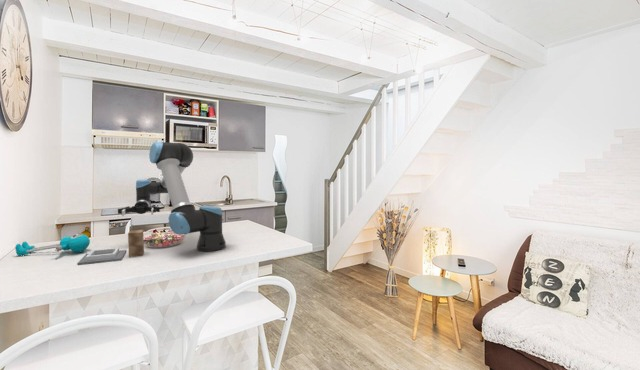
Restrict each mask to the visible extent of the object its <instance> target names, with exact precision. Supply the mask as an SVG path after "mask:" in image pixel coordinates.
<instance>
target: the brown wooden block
mask: <svg viewBox="0 0 640 370" xmlns="http://www.w3.org/2000/svg"><path fill="white" fill-rule="evenodd" d="M127 237H128V238H127V241H128V258H132V257H143V256H144V253H145V246H144V245H145V243H144V240H145V239H144V229H136V230H135V229H134V230H129V231H128V233H127Z"/></svg>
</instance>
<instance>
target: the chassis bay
mask: <svg viewBox="0 0 640 370" xmlns="http://www.w3.org/2000/svg"><path fill="white" fill-rule="evenodd" d="M126 253H127V250H126V249H123V250H120V247H111V248H102V249H101V248H100V249H91V251H89V252H88V253H86V254H84V255H83V257H81V259H80V260H78V261H77V266H82V265H91V264H100V263H110V262H111V263H112V262H118V261H120V262H121V261H122V260H123V258H124V257H125V255H126Z"/></svg>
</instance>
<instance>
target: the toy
mask: <svg viewBox="0 0 640 370" xmlns="http://www.w3.org/2000/svg"><path fill="white" fill-rule="evenodd" d="M90 242H91V241H90V238H89V236H88V235H86V234H83V233H81V232H80V233H76V234H74V235H72V236H65V237H63V238H61V239H60V241H59V243H55V244H50V245H49V244H48V245H42V246H37V247H36V246H35V245H29V243H28V242H27V241H23V242H22V243H17V244H15V253H16V255H17V256H18V257H22V256H21V255H24V256H26V255H29V254H30V253H34V252H39V251H44V250H52V249H55V250H54V251H56V252H57V253H58V252H59V251H64V252H67V251H71V252H73V253H75V254H76V253H78V254H79V253H83V252H85V251H86V249H87V248H88V247H90V244H91V243H90Z"/></svg>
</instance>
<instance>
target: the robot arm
mask: <svg viewBox="0 0 640 370" xmlns="http://www.w3.org/2000/svg"><path fill="white" fill-rule="evenodd" d="M149 148H150V149H149V153H148V155H149V156H148V157H149V158H148V159H149V162H151V164H153V165H155V166H156V168H157V169H158V170H161V171H160V172H161V174H162V178H161V180H160V181H153V182H152V181H150V179H137V180H136V182H135V193H136V200H135V201H136V203H135V204H134V206H128V205H127V206H125V207H121V208H117V215H118V214H121V216H122V217H124V216H125V215H126V214H128V213H136V214H139V215H143V214H145V213H148V212H150V214H151V215H154V214H155V213H156V212H157V213H160V212H161V210H160V207H158V206H155V205H152V203H151V202H152V201H151V195H157V194H158V195H159V194H168V196H169V197H168V198H169V200H170V204H171V206H172V209H171V210H170V214H169V215H168V225H169V227H170V230H171V231H172V232H173V233H174V234H176V235H178V236H179V235H188V234H193V233H198V232H199V236H198V240H197V243H196V250H197V251H200V252H216V251H220V250H224V249H225V248H226V246H227V245H226V240H225V237H224V234H223V210H222V208H221V207H220V206H212V205H211V206H210V205H200V206H199V207H198V209H196V206H195V205H194V204H193V203H191V202H190V199H189V196H188V192H187V189H186V186H185V184H184V180H183V178H182V173H183V172H184V171H185V169H186V168H188V167H190V165H191V164H192V163H193V160H194V153H193V150H192V149H191V147H190V146H189V145H187V144H186V143H183V142H164V141H155V142H152V144H151V146H150V147H149Z"/></svg>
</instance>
